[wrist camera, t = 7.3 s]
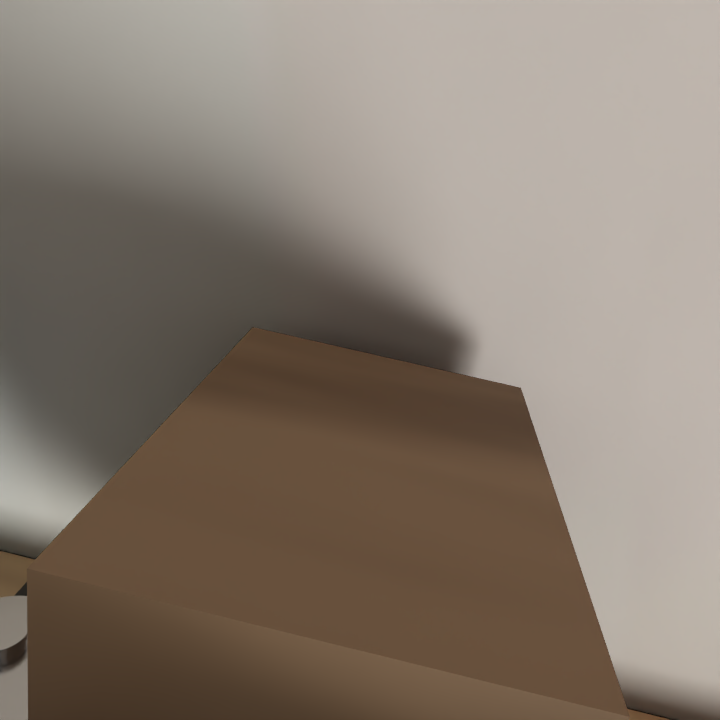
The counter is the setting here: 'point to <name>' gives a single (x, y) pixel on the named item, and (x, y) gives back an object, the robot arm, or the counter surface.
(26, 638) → the robot arm
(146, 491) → the walnut block
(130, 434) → the counter surface
